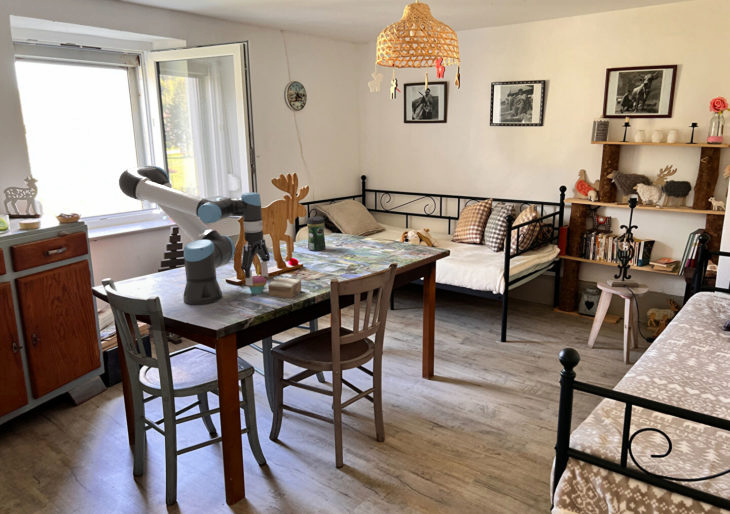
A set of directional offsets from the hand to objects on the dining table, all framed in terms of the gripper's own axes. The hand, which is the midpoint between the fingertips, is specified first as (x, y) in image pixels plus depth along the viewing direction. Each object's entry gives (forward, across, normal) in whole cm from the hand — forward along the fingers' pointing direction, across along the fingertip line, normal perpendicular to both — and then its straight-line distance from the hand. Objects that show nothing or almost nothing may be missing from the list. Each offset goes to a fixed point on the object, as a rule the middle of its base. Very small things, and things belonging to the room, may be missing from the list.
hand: (257, 280), depth 228 cm
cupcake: (+5, 0, 0) cm, 5 cm away
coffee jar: (+5, +80, +6) cm, 80 cm away
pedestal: (+5, +2, -12) cm, 13 cm away
